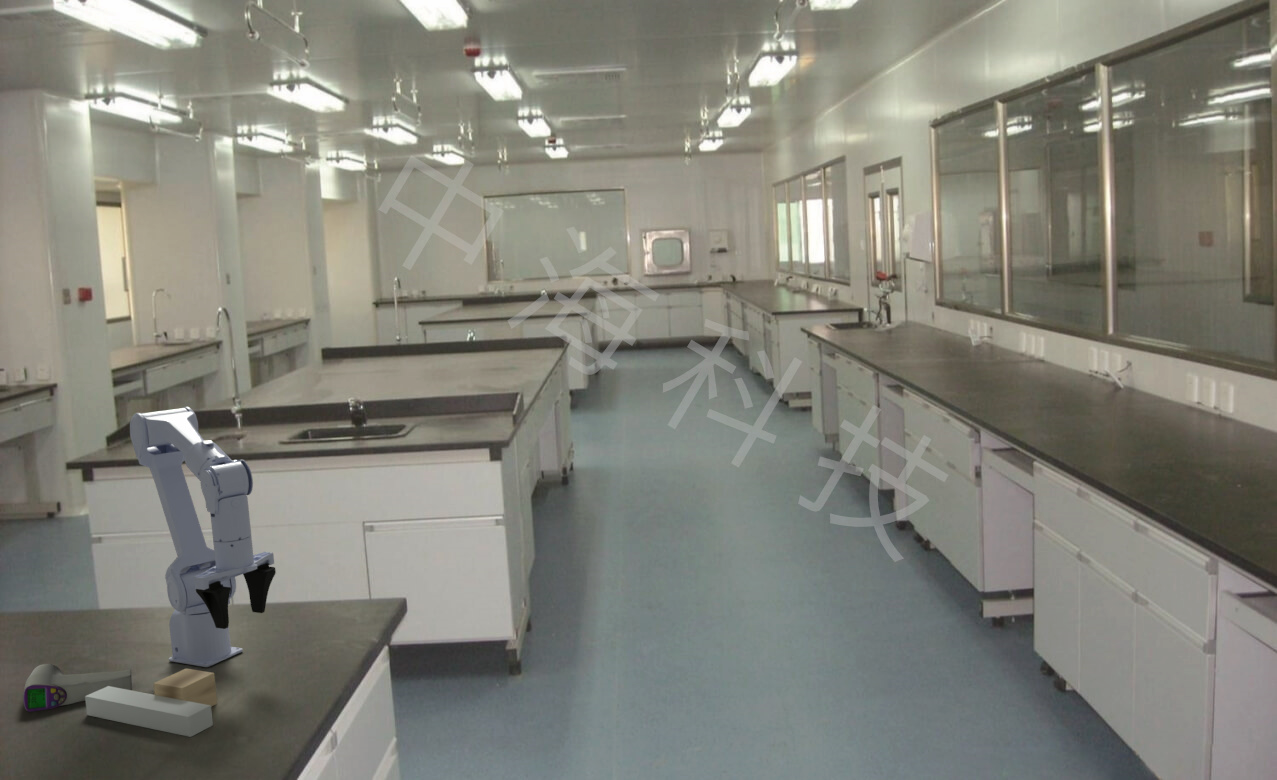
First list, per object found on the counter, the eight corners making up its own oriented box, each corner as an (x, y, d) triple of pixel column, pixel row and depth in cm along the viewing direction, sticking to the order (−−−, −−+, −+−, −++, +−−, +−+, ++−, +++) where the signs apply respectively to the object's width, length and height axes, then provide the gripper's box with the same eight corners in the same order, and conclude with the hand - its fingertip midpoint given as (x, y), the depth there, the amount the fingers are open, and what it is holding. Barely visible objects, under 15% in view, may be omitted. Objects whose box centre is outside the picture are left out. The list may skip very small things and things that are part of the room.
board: (87, 715, 158) (85, 696, 157) (110, 704, 161) (108, 686, 161) (190, 736, 148) (188, 716, 148) (213, 725, 152) (210, 705, 151)
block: (157, 714, 157) (153, 683, 156) (189, 699, 162) (186, 668, 162) (185, 720, 154) (181, 688, 154) (217, 704, 160) (214, 672, 159)
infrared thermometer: (132, 700, 166) (23, 716, 159) (131, 674, 177) (29, 689, 170) (131, 672, 166) (22, 687, 159) (130, 648, 176) (27, 662, 170)
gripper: (214, 551, 158) (223, 637, 160) (284, 527, 171) (292, 607, 173) (181, 548, 161) (190, 632, 163) (252, 525, 174) (260, 603, 176)
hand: (240, 619), depth 168 cm, fingers open, 7 cm apart
